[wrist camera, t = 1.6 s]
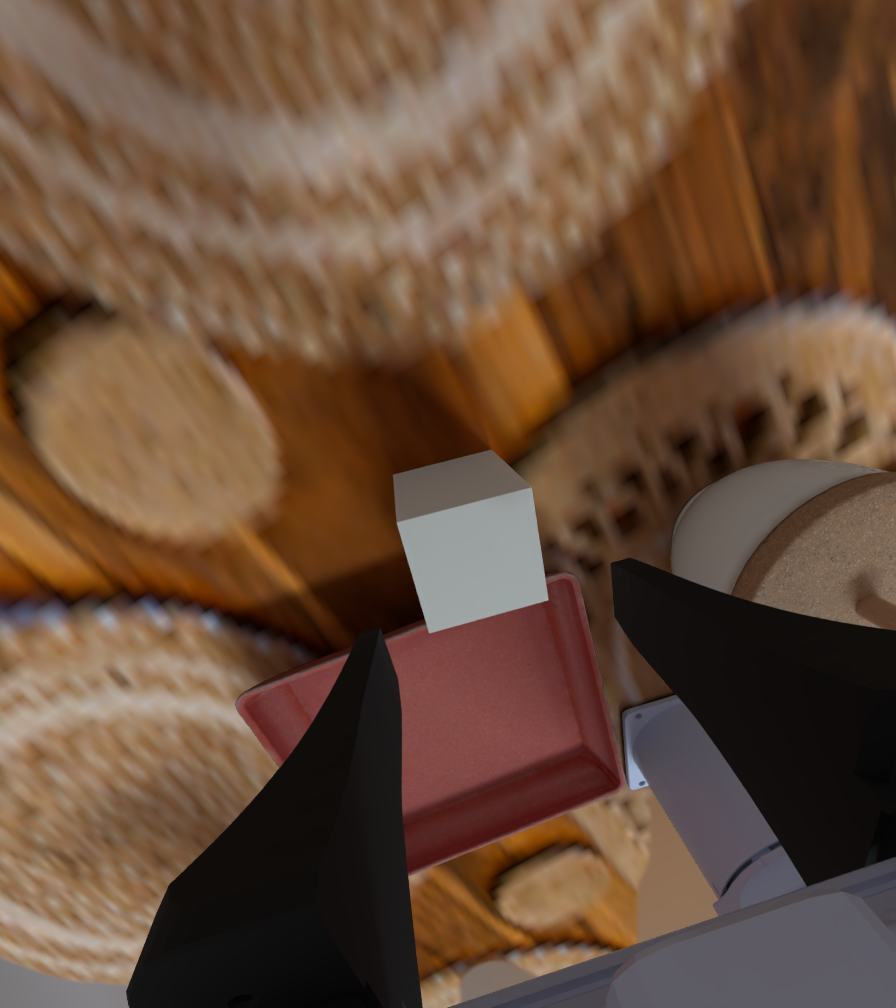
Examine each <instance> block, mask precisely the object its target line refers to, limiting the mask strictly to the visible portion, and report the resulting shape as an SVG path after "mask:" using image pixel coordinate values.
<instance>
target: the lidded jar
mask: <svg viewBox="0 0 896 1008" xmlns="http://www.w3.org/2000/svg"><path fill="white" fill-rule="evenodd" d="M671 569H672V574H674V575H676V576H679V577H682V578H684V579H687V580H689V581H692V582H695V583H697V584H700V585H703V586H706V587H709V588H711V589H714V590H717V591H720V592H723V593H726V594H729V595H732V596H735V597H738V598H742V599H745V600H748V601H752V602H755V603H759V604H763V605H766V606H770V607H774V608H778V609H782V610H785V611H790V612H794V613H798V614H803V615H808V616H813V617H818V618H823V619H828V620H833V621H838V622H843V623H849V624H855V625H861V626H868V627H875V628H882V629H889V630H896V472H888V471H884V470H880V469H876V468H871V467H867V466H862V465H857V464H852V463H844V462H835V461H827V460H815V459H788V460H778V461H770V462H764V463H760V464H756V465H752V466H749V467H746V468H743V469H740V470H738V471H735V472H733V473H731V474H729V475H727V476H725V477H724V478H722V479H720V480H718V481H717V482H714V483H712V484H710V485H708V486H706V487H705V488H703V489H702V490H700V491H699V492H698V493H696V494H695V495H694V496H693V497H692V498H691V499H690V500H689V501H688V503H687V504H686V505H685V506H684V508H683V509H682V511H681V512H680V514H679V516H678V518H677V520H676V522H675V525H674V529H673V534H672V549H671Z"/></svg>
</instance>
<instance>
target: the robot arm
mask: <svg viewBox="0 0 896 1008" xmlns="http://www.w3.org/2000/svg"><path fill="white" fill-rule="evenodd" d="M611 574H612V587H613V600H614V613H615V618H616V620H617V621H618V623H619V624H620V626H621V627H622V629H623V631H624V632H625V634H626V635H627V637H628V638H629V639H630V641H631V642H632V644H633V645H634V646H635V648H636V649H637V650H638V651H639V652H640V654H641V655H642V656H643V657H644V658H645V660H646V661H647V662H648V663H649V664H650V665H651V667H652V668H653V669H654V670H655V671H656V672H657V673H658V675H659V676H660V677H661V678H662V679H663V680H664V682H665V683H666V684H667V685H668V686H669V687H670V688H671V690H672V691H673V692H674V693H675V694H676V695H674V696H670V697H667V698H664V699H660V700H657V701H654V702H650V703H647V704H644V705H640V706H637V707H634V708H630V709H627V710H625V711H624V712H623V714H622V726H623V739H624V752H625V765H626V778H627V784H628V786H629V788H630V789H632V790H635V789H639V788H642V787H645V786H648V785H649V787H650V788H651V790H652V791H653V793H654V795H655V796H656V798H657V800H658V801H659V803H660V805H661V806H662V808H663V810H664V811H665V813H666V814H667V816H668V817H669V819H670V821H671V823H672V824H673V826H674V827H675V829H676V831H677V833H678V834H679V836H680V837H681V839H682V841H683V842H684V844H685V846H686V847H687V849H688V851H689V852H690V854H691V855H692V857H693V859H694V860H695V862H696V864H697V865H698V867H699V869H700V870H701V872H702V874H703V875H704V877H705V879H706V880H707V882H708V883H709V885H710V887H711V888H712V890H713V891H714V893H715V895H716V896H717V898H718V901H717V902H715V903H714V904H713V907H714V909H715V911H716V912H717V914H718V916H719V917H716V918H713V919H710V920H707V921H704V922H701V923H698V924H695V925H692V926H689V927H686V928H683V929H680V930H677V931H674V932H671V933H668V934H665V935H662V936H659V937H656V938H653V939H650V940H647V941H644V942H641V943H638V944H635V945H632V946H629V947H626V948H623V949H620V950H617V951H614V952H611V953H608V954H606V955H603V956H600V957H597V958H594V959H591V960H588V961H585V962H582V963H579V964H576V965H573V966H570V967H567V968H564V969H561V970H558V971H555V972H552V973H549V974H546V975H543V976H540V977H537V978H534V979H532V980H528V981H525V982H522V983H519V984H516V985H514V986H510V987H508V988H504V989H502V990H499V991H496V992H493V993H490V994H487V995H484V996H481V997H478V998H475V999H472V1000H469V1001H466V1002H463V1003H460V1004H457V1005H454V1006H451V1007H448V1008H896V630H889V629H882V628H875V627H868V626H861V625H855V624H849V623H843V622H838V621H833V620H828V619H823V618H818V617H813V616H808V615H803V614H798V613H794V612H790V611H785V610H782V609H778V608H774V607H770V606H766V605H763V604H759V603H755V602H752V601H748V600H745V599H742V598H738V597H735V596H732V595H729V594H726V593H723V592H720V591H717V590H714V589H711V588H709V587H706V586H703V585H700V584H697V583H695V582H692V581H689V580H687V579H684V578H682V577H679V576H676V575H674V574H671V573H669V572H666V571H664V570H661V569H659V568H656V567H654V566H651V565H648V564H646V563H643V562H641V561H638V560H635V559H632V558H627V559H623V560H620V561H616V562H612V563H611ZM126 993H127V1000H128V1005H129V1007H130V1008H423V1007H422V998H421V990H420V981H419V973H418V965H417V956H416V947H415V938H414V928H413V919H412V910H411V901H410V890H409V880H408V870H407V859H406V848H405V836H404V825H403V813H402V708H401V698H400V690H399V681H398V677H397V674H396V671H395V668H394V665H393V662H392V660H391V657H390V654H389V651H388V648H387V645H386V642H385V640H384V637H383V634H382V631H381V628H380V627H378V628H375V629H371V630H368V631H364V632H360V633H359V635H358V636H357V638H356V641H355V643H354V645H353V647H352V649H351V651H350V654H349V656H348V658H347V660H346V662H345V664H344V666H343V668H342V670H341V672H340V674H339V676H338V678H337V680H336V682H335V683H334V685H333V687H332V689H331V691H330V693H329V695H328V696H327V698H326V700H325V701H324V703H323V705H322V707H321V708H320V710H319V712H318V713H317V715H316V717H315V718H314V720H313V722H312V723H311V725H310V726H309V728H308V729H307V731H306V732H305V734H304V735H303V737H302V738H301V740H300V741H299V743H298V744H297V746H296V747H295V748H294V750H293V751H292V753H291V754H290V755H289V757H288V758H287V759H286V760H285V762H284V763H283V764H282V765H281V767H280V768H279V769H278V770H277V772H276V773H275V774H274V775H273V777H272V778H271V779H270V780H269V782H268V783H267V784H266V785H265V787H264V788H263V789H262V790H261V791H260V793H259V794H258V795H257V796H256V797H255V798H254V799H253V801H252V802H251V803H250V804H249V805H248V806H247V807H246V808H245V810H244V811H243V812H242V813H241V814H240V815H239V816H238V817H237V818H236V819H235V820H234V821H233V822H232V824H231V825H230V826H229V827H228V828H227V829H226V830H225V831H224V832H223V833H222V834H221V835H220V836H219V837H218V838H217V839H216V840H215V841H214V842H213V843H212V844H211V845H210V846H209V847H208V848H207V849H206V850H205V851H204V852H203V853H202V854H201V855H200V856H199V857H198V858H197V859H196V860H195V861H194V862H193V863H192V864H190V865H189V866H188V867H187V868H186V869H185V870H184V871H183V872H182V873H181V874H180V875H179V876H178V877H177V878H176V879H175V880H174V881H173V882H172V883H170V884H169V886H168V889H167V891H166V893H165V895H164V898H163V900H162V902H161V904H160V907H159V909H158V911H157V913H156V916H155V918H154V921H153V924H152V926H151V929H150V931H149V934H148V936H147V939H146V942H145V944H144V947H143V949H142V952H141V954H140V957H139V960H138V962H137V965H136V967H135V970H134V973H133V975H132V978H131V980H130V983H129V986H128V988H127V991H126Z"/></svg>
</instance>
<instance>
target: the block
mask: <svg viewBox="0 0 896 1008" xmlns="http://www.w3.org/2000/svg"><path fill="white" fill-rule="evenodd" d="M393 482H394V495H395V508H396V521H397V526H398V529H399V532H400V536H401V539H402V543H403V546H404V549H405V553H406V556H407V560H408V563H409V566H410V570H411V573H412V577H413V580H414V583H415V587H416V590H417V594H418V597H419V600H420V604H421V607H422V611H423V614H424V617H425V621H426V624H427V628H428V631H429V633H433V632H436V631H440V630H444V629H447V628H451V627H454V626H458V625H462V624H465V623H469V622H472V621H476V620H479V619H483V618H487V617H490V616H494V615H497V614H501V613H505V612H508V611H512V610H515V609H519V608H523V607H526V606H530V605H533V604H537V603H540V602H544V601H548V593H547V586H546V580H545V573H544V566H543V560H542V553H541V546H540V540H539V533H538V526H537V520H536V513H535V506H534V499H533V493H532V487H531V486H530V485H529V484H528V483H527V482H526V481H524V480H523V479H522V478H521V477H520V476H519V475H518V474H517V473H516V472H515V471H514V470H513V469H512V468H511V467H510V466H508V465H507V464H506V463H505V462H504V461H503V460H502V459H501V458H500V457H499V456H498V455H497V454H496V453H495V452H494V451H492V450H488V451H484V452H480V453H476V454H472V455H468V456H464V457H460V458H456V459H452V460H449V461H445V462H441V463H437V464H433V465H429V466H425V467H421V468H417V469H413V470H409V471H405V472H402V473H398V474H394V475H393Z"/></svg>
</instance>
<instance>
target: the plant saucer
mask: <svg viewBox="0 0 896 1008" xmlns="http://www.w3.org/2000/svg"><path fill="white" fill-rule="evenodd" d="M545 580H546V586H547V593H548V601H544V602H540V603H537V604H533V605H530V606H526V607H523V608H519V609H515V610H512V611H508V612H505V613H501V614H497V615H494V616H490V617H487V618H483V619H479V620H476V621H472V622H469V623H465V624H462V625H458V626H454V627H451V628H447V629H444V630H440V631H436V632H433V633H429V631H428V628H427V624H426V621H425V619H423V620H420V621H417V622H415V623H412V624H409V625H407V626H404V627H402V628H399V629H396V630H394V631H391V632H388V633H386V634H383V637H384V640H385V642H386V645H387V648H388V651H389V654H390V657H391V660H392V662H393V665H394V668H395V671H396V674H397V677H398V681H399V690H400V698H401V708H402V813H403V825H404V836H405V848H406V859H407V870H408V876H411V875H413V874H416V873H418V872H421V871H423V870H426V869H428V868H431V867H433V866H436V865H438V864H441V863H443V862H446V861H449V860H451V859H453V858H456V857H458V856H461V855H463V854H466V853H469V852H471V851H473V850H476V849H479V848H481V847H483V846H486V845H489V844H491V843H494V842H496V841H498V840H501V839H503V838H506V837H509V836H511V835H513V834H516V833H519V832H521V831H524V830H526V829H528V828H530V827H534V826H536V825H538V824H541V823H543V822H546V821H548V820H551V819H553V818H555V817H558V816H561V815H563V814H565V813H567V812H570V811H574V810H576V809H579V808H580V807H583V806H586V805H589V804H591V803H594V802H596V801H599V800H601V799H603V798H606V797H608V796H611V795H613V794H615V793H617V792H619V791H620V790H621V789H622V788H623V787H624V786H625V785H626V779H625V774H624V771H623V767H622V762H621V757H620V754H619V749H618V745H617V741H616V737H615V733H614V728H613V723H612V720H611V717H610V712H609V708H608V703H607V699H606V695H605V692H604V686H603V681H602V677H601V674H600V670H599V665H598V662H597V657H596V653H595V649H594V644H593V639H592V636H591V632H590V627H589V623H588V618H587V614H586V610H585V605H584V601H583V597H582V593H581V588H580V585H579V582H578V579H577V577H576V576H575V575H573V574H572V573H570V572H554V573H549V574H545ZM352 647H353V646H351V647H349V648H346V649H344V650H341V651H338V652H335V653H332V654H330V655H327V656H325V657H322V658H320V659H317V660H314V661H312V662H309V663H306V664H304V665H301V666H299V667H296V668H294V669H291V670H289V671H286V672H284V673H281V674H279V675H276V676H274V677H272V678H270V679H268V680H265V681H263V682H262V683H260V684H258V685H256V686H254V687H252V688H250V689H249V690H247V691H245V692H244V693H242V694H241V695H240V696H239V697H238V698H237V701H236V704H235V705H236V709H237V711H238V713H239V714H240V716H241V717H242V718H243V719H244V721H245V722H246V724H247V725H248V726H249V727H250V729H251V730H252V732H253V733H254V734H255V736H256V737H257V739H258V740H259V741H260V743H261V744H262V746H263V747H264V748H265V749H266V751H267V752H268V753H269V755H270V756H271V757H272V759H273V761H274V762H275V763H276V765H277V766H278V767H279V768H280V767H281V765H282V764H283V763H284V762H285V760H286V759H287V758H288V757H289V755H290V754H291V753H292V751H293V750H294V748H295V747H296V746H297V744H298V743H299V741H300V740H301V738H302V737H303V735H304V734H305V732H306V731H307V729H308V728H309V726H310V725H311V723H312V722H313V720H314V718H315V717H316V715H317V713H318V712H319V710H320V708H321V707H322V705H323V703H324V701H325V700H326V698H327V696H328V695H329V693H330V691H331V689H332V687H333V685H334V683H335V682H336V680H337V678H338V676H339V674H340V672H341V670H342V668H343V666H344V664H345V662H346V660H347V658H348V656H349V654H350V651H351V649H352Z"/></svg>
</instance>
